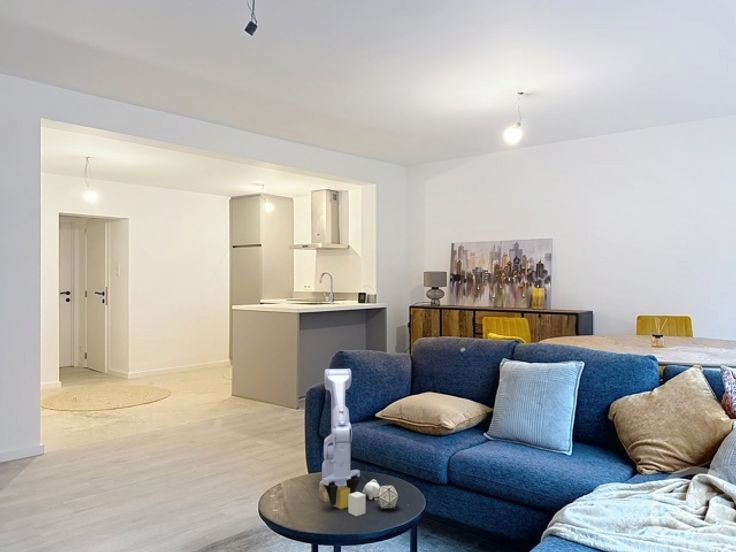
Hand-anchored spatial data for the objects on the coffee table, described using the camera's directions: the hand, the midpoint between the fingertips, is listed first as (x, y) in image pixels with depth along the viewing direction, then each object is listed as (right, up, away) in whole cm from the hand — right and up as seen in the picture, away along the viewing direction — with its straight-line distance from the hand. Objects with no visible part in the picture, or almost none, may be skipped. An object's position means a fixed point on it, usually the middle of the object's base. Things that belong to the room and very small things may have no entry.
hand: (341, 501), depth 192 cm
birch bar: (-5, -2, +6) cm, 8 cm away
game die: (+15, -2, -2) cm, 16 cm away
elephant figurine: (+11, -2, +7) cm, 13 cm away
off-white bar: (+5, -1, -6) cm, 8 cm away
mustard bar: (0, -2, 0) cm, 2 cm away
